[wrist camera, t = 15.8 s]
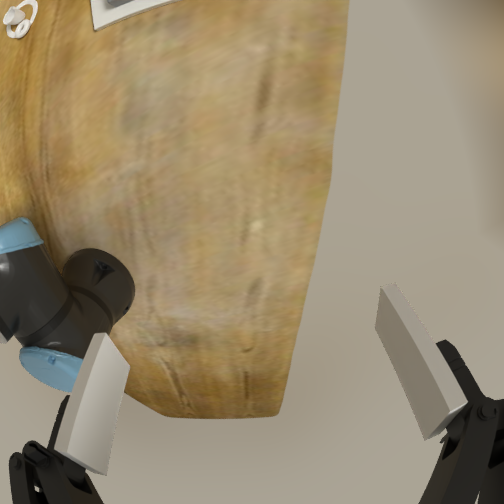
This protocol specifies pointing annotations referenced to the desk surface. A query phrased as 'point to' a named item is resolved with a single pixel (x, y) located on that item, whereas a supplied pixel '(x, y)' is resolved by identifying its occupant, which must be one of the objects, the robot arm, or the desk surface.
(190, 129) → the desk surface
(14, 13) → the teacup and saucer
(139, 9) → the plate
